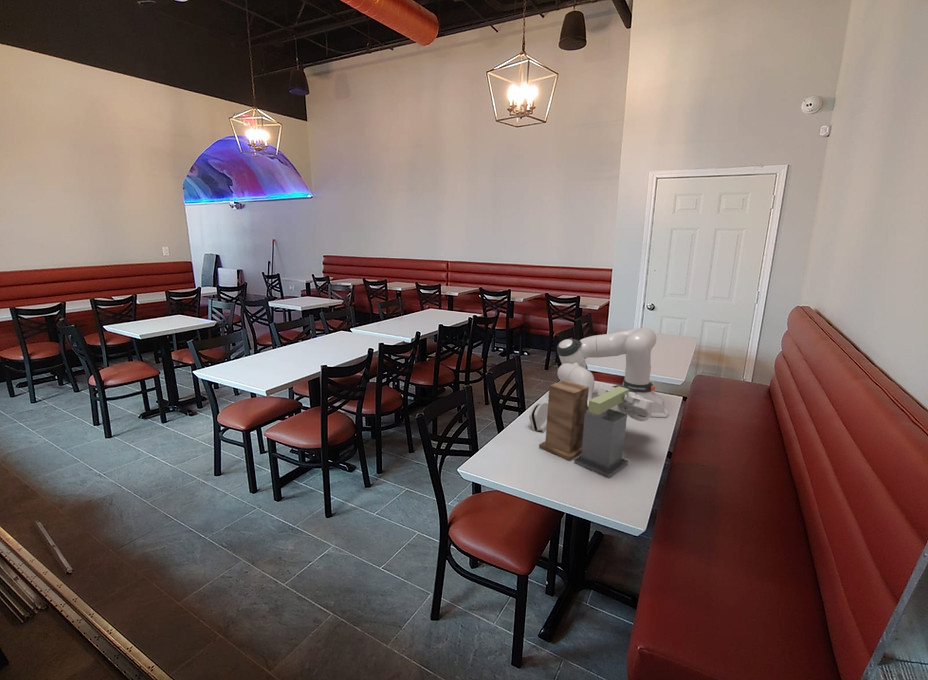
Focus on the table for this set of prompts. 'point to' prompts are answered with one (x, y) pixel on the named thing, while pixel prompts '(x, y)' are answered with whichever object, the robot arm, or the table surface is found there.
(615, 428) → the block
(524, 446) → the table surface
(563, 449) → the brown wooden pedestal
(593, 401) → the pale green plank
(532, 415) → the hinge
